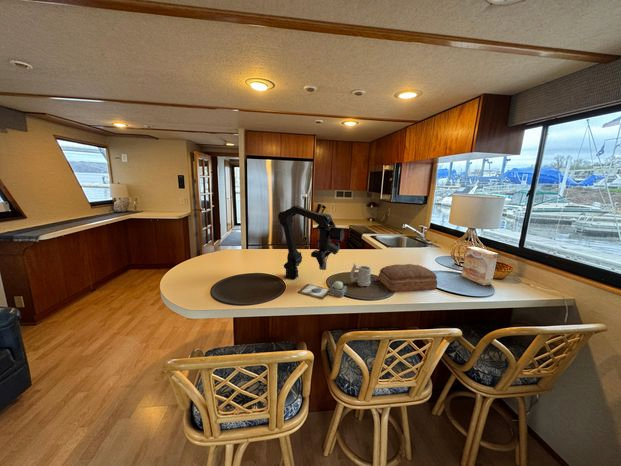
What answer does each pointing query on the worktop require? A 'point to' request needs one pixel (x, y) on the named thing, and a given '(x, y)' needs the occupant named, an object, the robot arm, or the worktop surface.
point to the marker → (323, 264)
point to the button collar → (337, 291)
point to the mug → (361, 275)
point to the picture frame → (314, 291)
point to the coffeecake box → (479, 265)
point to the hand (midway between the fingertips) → (322, 265)
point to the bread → (407, 277)
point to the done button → (338, 285)
